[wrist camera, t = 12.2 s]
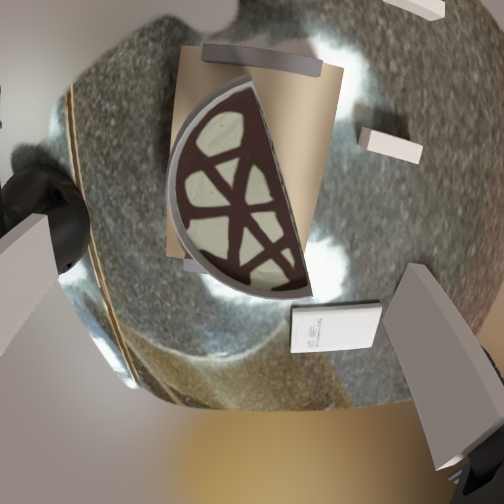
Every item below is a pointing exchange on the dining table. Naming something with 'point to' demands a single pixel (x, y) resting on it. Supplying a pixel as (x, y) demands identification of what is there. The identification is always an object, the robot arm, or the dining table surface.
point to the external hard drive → (334, 327)
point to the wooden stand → (268, 117)
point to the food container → (235, 197)
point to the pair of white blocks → (431, 8)
